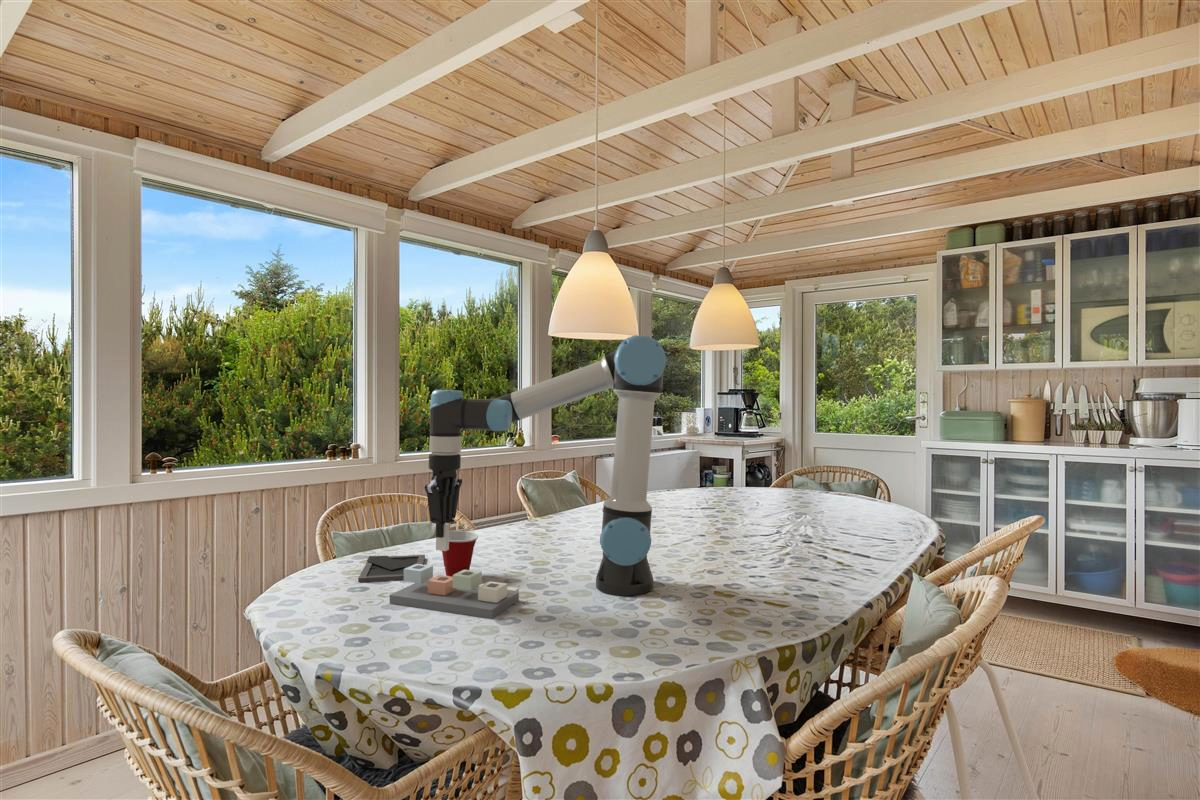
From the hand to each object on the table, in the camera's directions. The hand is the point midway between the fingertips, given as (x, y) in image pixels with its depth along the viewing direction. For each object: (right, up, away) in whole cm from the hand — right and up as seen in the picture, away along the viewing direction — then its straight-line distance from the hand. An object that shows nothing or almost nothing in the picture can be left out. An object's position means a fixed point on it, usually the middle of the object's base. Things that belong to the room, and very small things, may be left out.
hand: (442, 549), depth 150 cm
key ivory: (+13, -11, -4) cm, 17 cm away
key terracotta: (0, -10, +1) cm, 10 cm away
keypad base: (+3, -13, -1) cm, 13 cm away
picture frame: (-21, -13, +26) cm, 35 cm away
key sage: (+7, -8, -2) cm, 11 cm away
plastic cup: (0, -12, +19) cm, 23 cm away
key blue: (-7, -8, +3) cm, 11 cm away
